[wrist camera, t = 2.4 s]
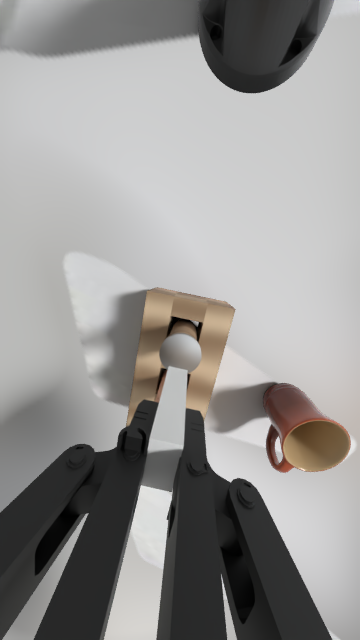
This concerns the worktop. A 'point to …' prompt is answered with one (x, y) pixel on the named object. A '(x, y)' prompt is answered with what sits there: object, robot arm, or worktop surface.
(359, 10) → the worktop surface
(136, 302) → the worktop surface
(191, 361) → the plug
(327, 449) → the mug
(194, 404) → the socket board
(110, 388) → the worktop surface
